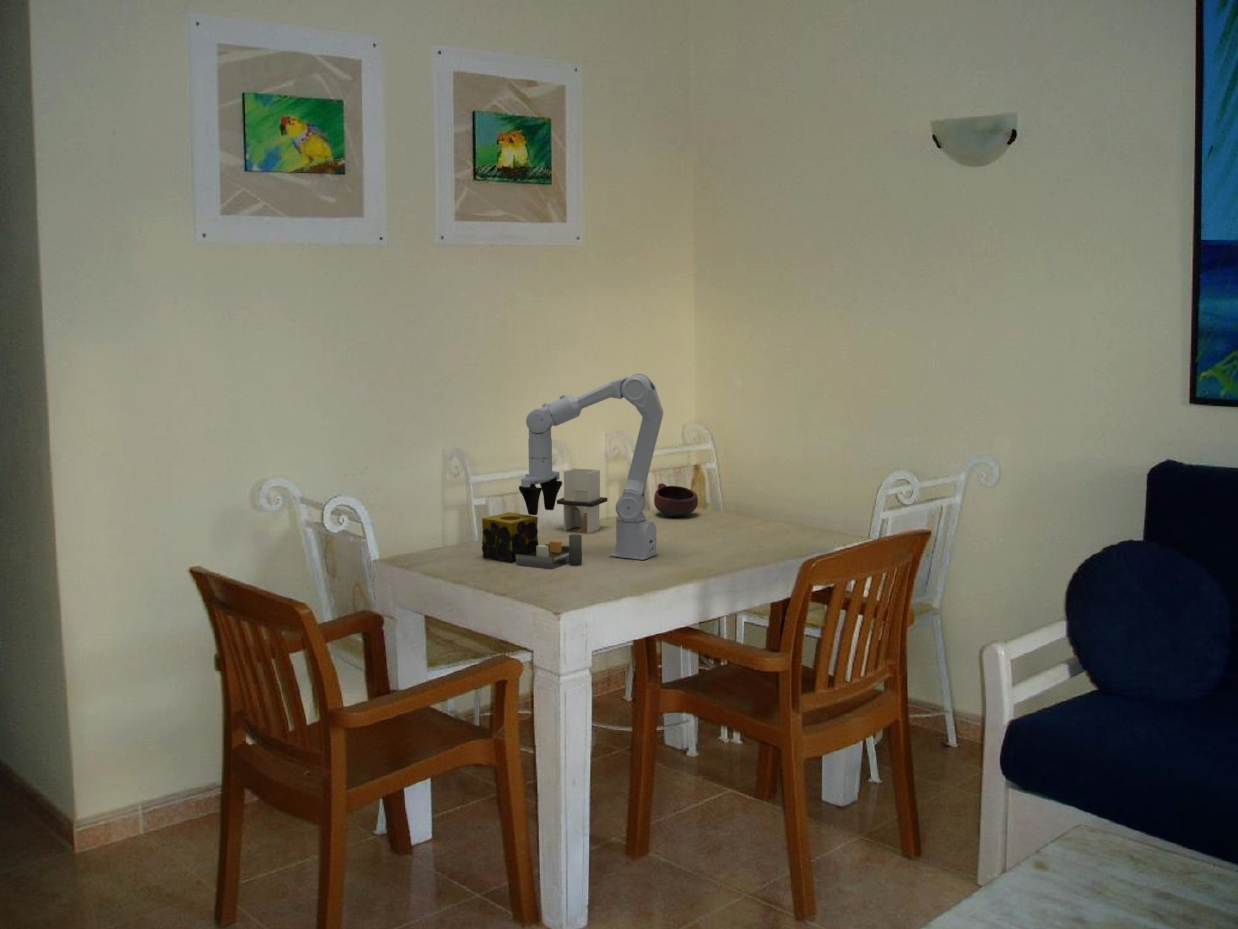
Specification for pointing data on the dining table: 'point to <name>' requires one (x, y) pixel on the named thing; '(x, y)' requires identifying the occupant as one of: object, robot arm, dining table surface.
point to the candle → (509, 536)
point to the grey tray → (544, 559)
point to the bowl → (675, 500)
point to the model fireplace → (581, 499)
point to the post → (575, 549)
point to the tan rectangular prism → (555, 546)
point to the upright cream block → (542, 550)
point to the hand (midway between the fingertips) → (541, 512)
